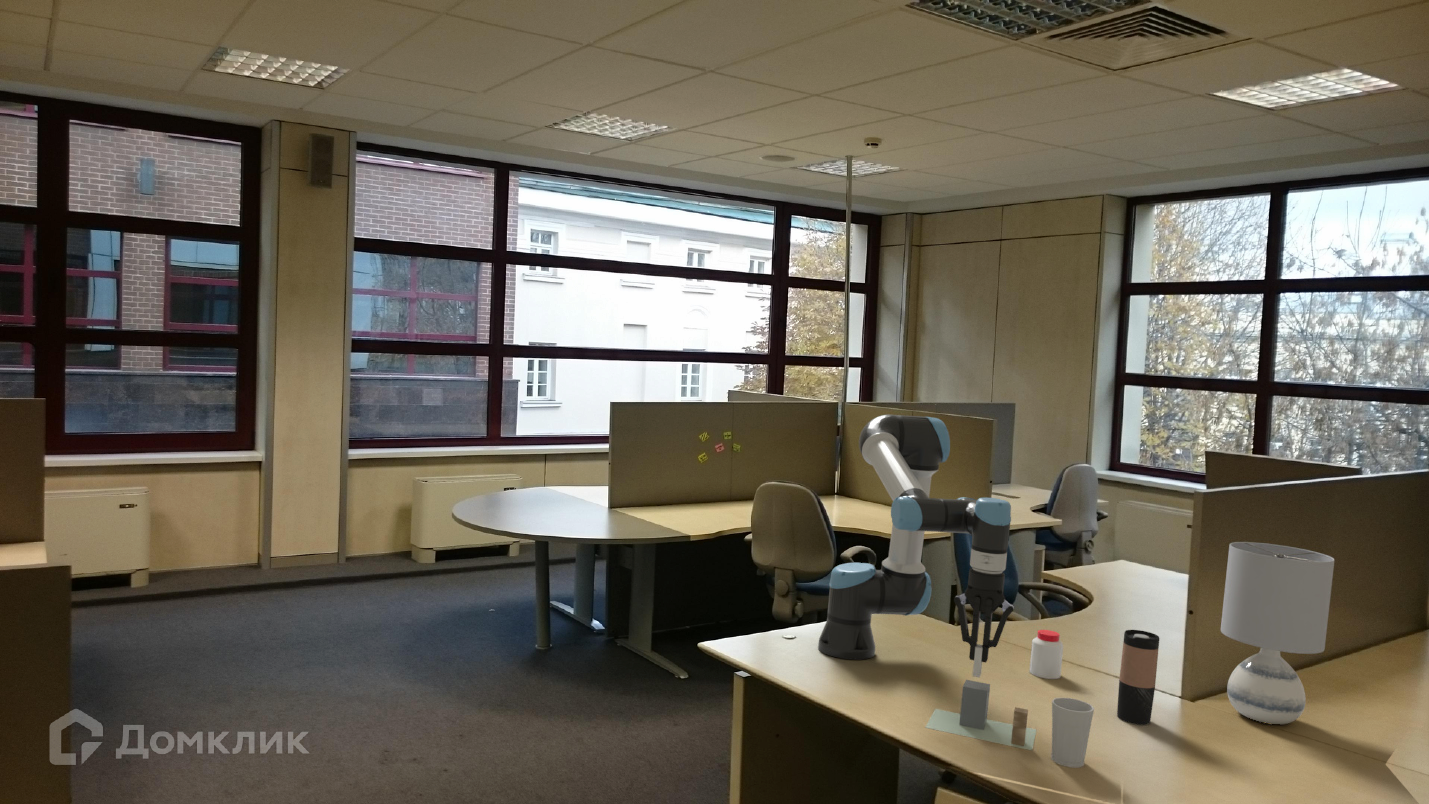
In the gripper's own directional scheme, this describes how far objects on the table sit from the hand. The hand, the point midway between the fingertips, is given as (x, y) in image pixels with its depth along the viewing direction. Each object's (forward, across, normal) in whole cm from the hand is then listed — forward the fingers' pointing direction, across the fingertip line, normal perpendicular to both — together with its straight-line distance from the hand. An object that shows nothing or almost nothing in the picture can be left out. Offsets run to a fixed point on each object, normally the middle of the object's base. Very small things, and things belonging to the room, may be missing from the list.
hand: (976, 675), depth 215 cm
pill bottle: (+12, +12, +48) cm, 51 cm away
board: (+11, +2, -2) cm, 12 cm away
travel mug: (+11, +33, +26) cm, 43 cm away
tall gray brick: (+11, 0, -1) cm, 11 cm away
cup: (+11, +20, -10) cm, 25 cm away
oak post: (+11, +10, -6) cm, 16 cm away
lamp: (+11, +62, +46) cm, 78 cm away
